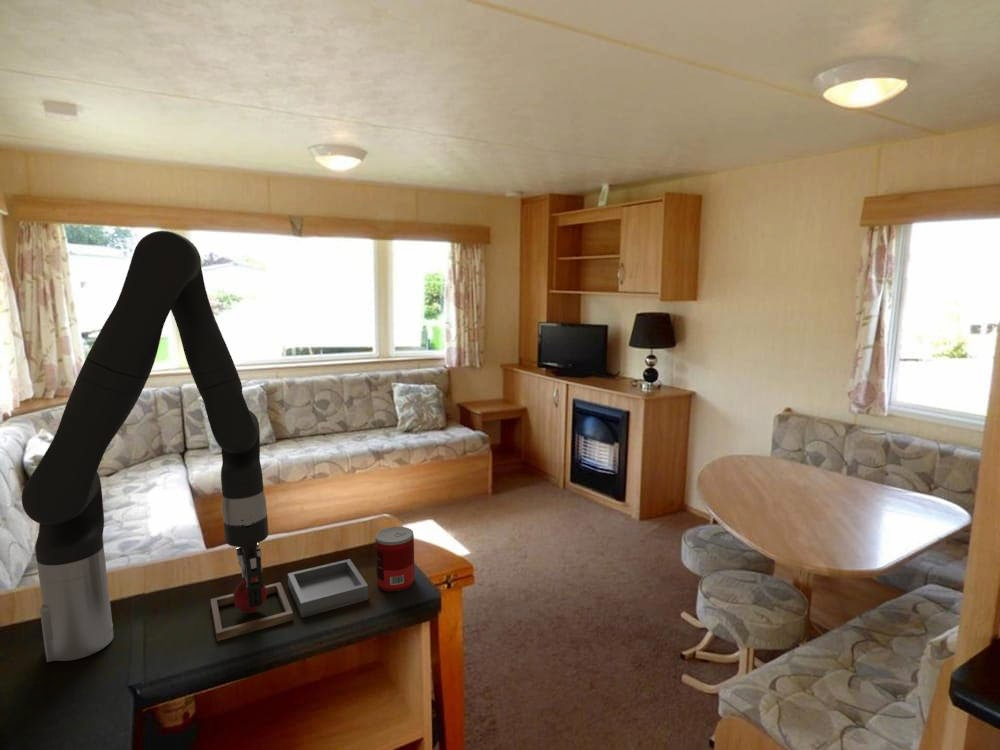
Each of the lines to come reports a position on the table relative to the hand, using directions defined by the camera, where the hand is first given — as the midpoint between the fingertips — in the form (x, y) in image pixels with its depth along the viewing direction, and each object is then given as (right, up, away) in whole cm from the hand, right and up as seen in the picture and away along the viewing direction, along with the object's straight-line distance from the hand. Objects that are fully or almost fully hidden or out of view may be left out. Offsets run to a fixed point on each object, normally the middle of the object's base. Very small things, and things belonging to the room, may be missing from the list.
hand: (252, 595), depth 112 cm
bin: (+12, -2, +8) cm, 15 cm away
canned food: (+25, -2, +12) cm, 28 cm away
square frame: (0, -4, 0) cm, 4 cm away
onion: (0, -4, 0) cm, 4 cm away
